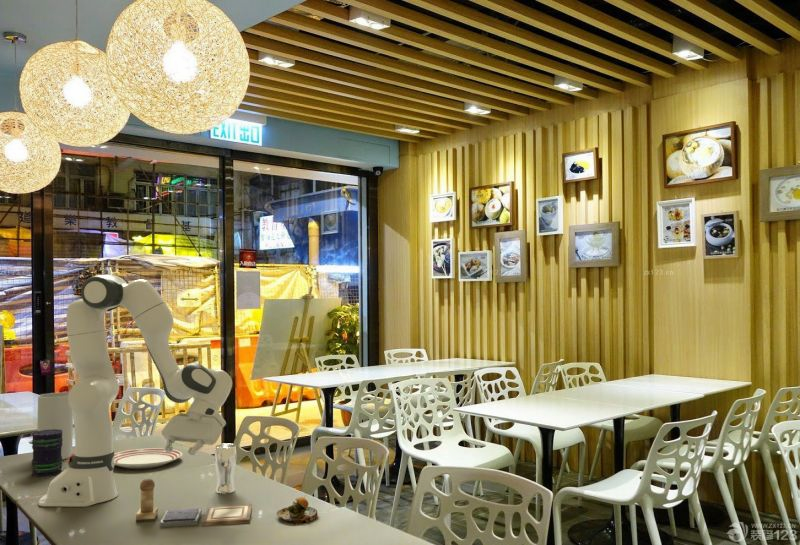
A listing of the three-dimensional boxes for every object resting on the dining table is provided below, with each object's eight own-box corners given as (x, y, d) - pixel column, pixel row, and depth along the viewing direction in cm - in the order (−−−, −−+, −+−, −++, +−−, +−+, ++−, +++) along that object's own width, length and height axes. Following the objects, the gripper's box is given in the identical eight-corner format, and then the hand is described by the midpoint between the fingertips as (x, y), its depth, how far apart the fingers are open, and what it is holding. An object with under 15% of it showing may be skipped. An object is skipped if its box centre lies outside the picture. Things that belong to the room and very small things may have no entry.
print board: (202, 525, 188) (202, 521, 188) (207, 510, 200) (207, 506, 201) (249, 522, 190) (249, 518, 190) (251, 508, 203) (251, 504, 203)
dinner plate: (155, 451, 277) (155, 443, 277) (196, 461, 261) (196, 452, 261) (91, 465, 255) (91, 456, 255) (133, 476, 239) (133, 467, 239)
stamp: (135, 522, 190) (136, 481, 191) (139, 516, 195) (140, 476, 196) (154, 521, 191) (154, 480, 192) (157, 515, 196) (158, 476, 196)
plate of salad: (281, 511, 201) (281, 486, 201) (320, 512, 200) (320, 486, 201) (272, 525, 189) (272, 498, 189) (313, 525, 188) (314, 499, 189)
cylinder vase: (66, 452, 274) (67, 391, 275) (76, 458, 265) (77, 395, 266) (33, 457, 266) (34, 394, 267) (41, 463, 257) (42, 398, 257)
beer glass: (230, 495, 216) (230, 448, 217) (210, 493, 218) (210, 447, 218) (239, 489, 223) (239, 443, 223) (220, 487, 224) (220, 442, 225)
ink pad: (159, 527, 186) (159, 520, 186) (166, 515, 196) (166, 509, 196) (196, 525, 188) (197, 518, 188) (201, 513, 198) (201, 507, 198)
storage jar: (64, 468, 249) (64, 428, 249) (59, 475, 239) (60, 433, 240) (34, 471, 246) (35, 430, 246) (28, 478, 236) (29, 435, 237)
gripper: (171, 407, 217) (148, 443, 207) (221, 411, 208) (199, 450, 199) (181, 418, 220) (158, 454, 211) (230, 423, 212) (209, 461, 203)
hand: (178, 452), depth 205 cm, fingers open, 8 cm apart
